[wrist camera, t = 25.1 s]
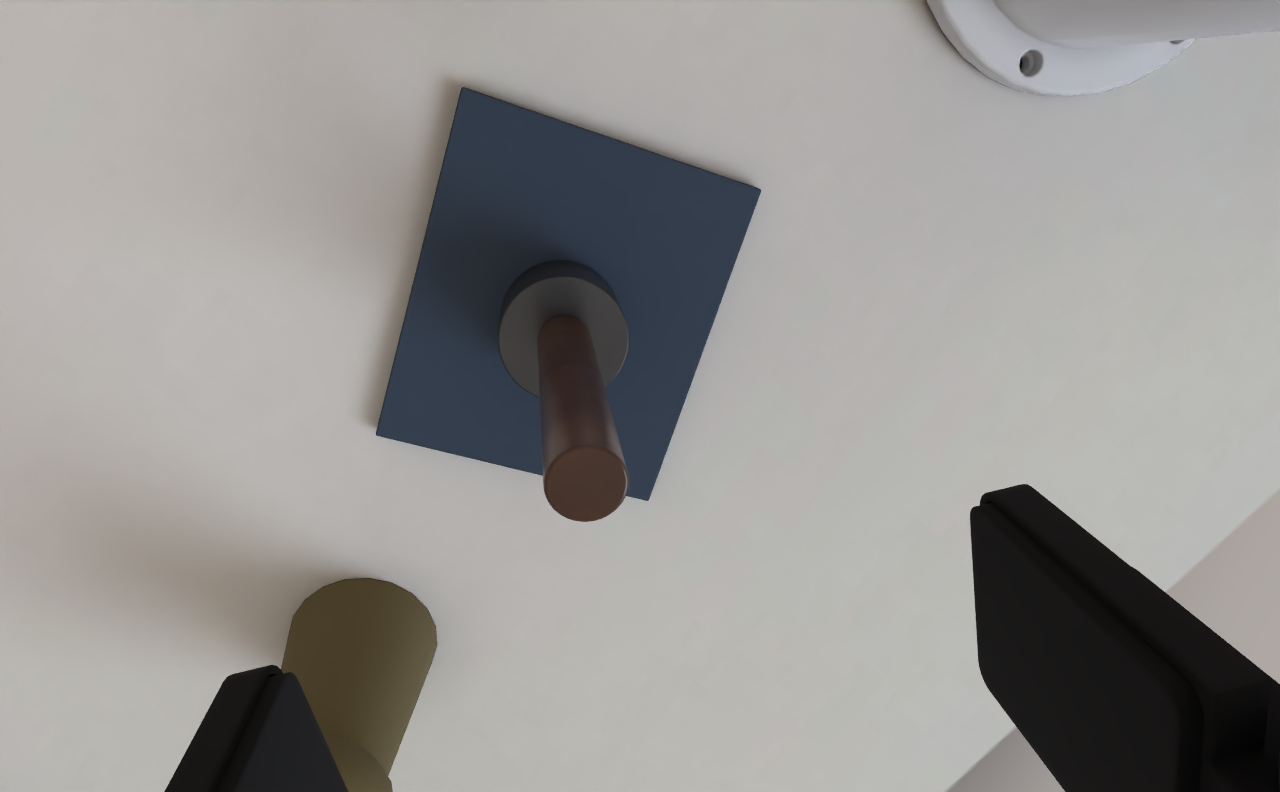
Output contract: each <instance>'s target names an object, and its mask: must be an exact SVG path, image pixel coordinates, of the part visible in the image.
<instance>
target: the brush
mask: <svg viewBox="0 0 1280 792" xmlns="http://www.w3.org/2000/svg"><path fill="white" fill-rule="evenodd" d="M628 346H629V331H628V325H627V321H626V318H625V316H624V313H623V311H622V309H621V307H620V305H619V302H618V300H617V298H616V296H615V294H614V291H613V290H612V288H611V287H610V285H609V284H608V282H607V281H606V280H605V279H604V278H603V277H602V276H601V275H600V274H599V273H597V272H596V271H595V270H593V269H592V268H590V267H588V266H586V265H583V264H581V263H578V262H574V261H569V260H552V261H546V262H543V263H539V264H537V265H535V266H533V267H531V268H529V269H527V270H526V271H524V272H523V273H522V274H521V275H519V276H518V277H517V278H516V279H515V281H514V282H513V283H512V284H511V286H510V287H509V289H508V291H507V293H506V295H505V297H504V300H503V303H502V307H501V314H500V322H499V330H498V348H499V353H500V357H501V360H502V362H503V365H504V367H505V369H506V371H507V372H508V373H509V375H510V376H511V378H512V379H513V380H514V381H515V382H516V383H517V384H518V385H519V386H520V387H522V388H523V389H524V390H526V391H527V392H529V393H530V394H532V395H534V396H537V397H539V398H540V415H541V437H542V460H543V483H544V492H545V495H546V498H547V500H548V502H549V504H550V505H551V506H552V508H553V509H554V510H555V511H557V512H558V513H559V514H561V515H562V516H564V517H566V518H568V519H571V520H575V521H582V522H588V521H595V520H598V519H601V518H604V517H606V516H608V515H609V514H611V513H612V512H614V511H615V510H616V509H617V508H618V507H619V506H620V504H621V503H622V502H623V500H624V498H625V496H626V494H627V491H628V486H629V476H628V471H627V467H626V464H625V460H624V456H623V453H622V449H621V445H620V442H619V438H618V434H617V431H616V427H615V423H614V420H613V416H612V412H611V409H610V405H609V401H608V398H607V394H606V390H605V387H606V386H607V385H608V384H609V383H610V382H611V381H612V380H613V379H614V378H615V377H616V376H617V374H618V373H619V371H620V370H621V368H622V366H623V364H624V361H625V359H626V356H627V352H628Z"/></svg>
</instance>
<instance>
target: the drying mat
mask: <svg viewBox="0 0 1280 792" xmlns="http://www.w3.org/2000/svg"><path fill="white" fill-rule="evenodd" d="M760 193H761V190H760V189H759V188H756V187H753V186H750V185H747V184H744V183H741V182H738V181H735V180H733V179H730V178H727V177H724V176H721V175H718V174H715V173H712V172H709V171H706V170H703V169H700V168H698V167H695V166H692V165H689V164H686V163H683V162H680V161H677V160H674V159H671V158H668V157H666V156H663V155H660V154H657V153H654V152H651V151H648V150H645V149H642V148H639V147H636V146H634V145H631V144H628V143H625V142H622V141H619V140H616V139H613V138H610V137H607V136H604V135H601V134H599V133H596V132H593V131H590V130H587V129H584V128H581V127H578V126H575V125H572V124H569V123H567V122H564V121H561V120H558V119H555V118H552V117H549V116H546V115H543V114H540V113H537V112H535V111H532V110H529V109H526V108H523V107H520V106H517V105H514V104H511V103H508V102H505V101H502V100H500V99H497V98H494V97H491V96H488V95H485V94H482V93H479V92H476V91H473V90H470V89H468V88H465V87H462V88H461V91H460V95H459V99H458V103H457V107H456V111H455V116H454V120H453V124H452V128H451V132H450V136H449V140H448V144H447V148H446V152H445V156H444V160H443V164H442V168H441V172H440V176H439V180H438V184H437V188H436V192H435V196H434V201H433V205H432V209H431V213H430V217H429V221H428V225H427V229H426V233H425V237H424V241H423V245H422V249H421V253H420V257H419V261H418V265H417V269H416V273H415V277H414V281H413V285H412V290H411V294H410V298H409V302H408V306H407V310H406V314H405V318H404V322H403V326H402V330H401V334H400V338H399V342H398V346H397V350H396V354H395V358H394V362H393V366H392V370H391V375H390V379H389V383H388V387H387V391H386V395H385V399H384V403H383V407H382V411H381V415H380V419H379V423H378V427H377V431H376V435H377V436H381V437H385V438H389V439H393V440H397V441H401V442H406V443H410V444H414V445H418V446H422V447H426V448H430V449H435V450H439V451H443V452H447V453H451V454H455V455H460V456H464V457H468V458H472V459H476V460H480V461H484V462H489V463H493V464H497V465H501V466H505V467H509V468H514V469H518V470H522V471H526V472H530V473H534V474H538V475H543V460H542V437H541V415H540V398H539V397H537V396H534V395H532V394H530V393H529V392H527V391H526V390H524V389H523V388H522V387H520V386H519V385H518V384H517V383H516V382H515V381H514V380H513V379H512V378H511V376H510V375H509V373H508V372H507V371H506V369H505V367H504V365H503V362H502V360H501V357H500V353H499V348H498V330H499V322H500V314H501V307H502V303H503V300H504V297H505V295H506V293H507V291H508V289H509V287H510V286H511V284H512V283H513V282H514V281H515V279H516V278H517V277H518V276H519V275H521V274H522V273H523V272H524V271H526V270H527V269H529V268H531V267H533V266H535V265H537V264H539V263H543V262H546V261H552V260H569V261H574V262H578V263H581V264H583V265H586V266H588V267H590V268H592V269H593V270H595V271H596V272H597V273H599V274H600V275H601V276H602V277H603V278H604V279H605V280H606V281H607V282H608V284H609V285H610V287H611V288H612V290H613V291H614V294H615V296H616V298H617V300H618V302H619V305H620V307H621V309H622V311H623V313H624V316H625V318H626V321H627V325H628V331H629V346H628V352H627V356H626V359H625V361H624V364H623V366H622V368H621V370H620V371H619V373H618V374H617V376H616V377H615V378H614V379H613V380H612V381H611V382H610V383H609V384H608V385H607V386H606V387H605V390H606V394H607V398H608V401H609V405H610V409H611V412H612V416H613V420H614V423H615V427H616V431H617V434H618V438H619V442H620V445H621V449H622V453H623V456H624V460H625V464H626V467H627V471H628V476H629V486H628V491H627V494H626V496H630V497H634V498H638V499H642V500H646V501H648V500H649V498H650V495H651V492H652V490H653V487H654V484H655V481H656V479H657V476H658V473H659V470H660V468H661V465H662V462H663V459H664V457H665V454H666V451H667V448H668V446H669V443H670V440H671V437H672V435H673V432H674V429H675V426H676V424H677V421H678V418H679V415H680V413H681V410H682V407H683V404H684V402H685V399H686V396H687V393H688V391H689V388H690V385H691V382H692V380H693V377H694V374H695V371H696V369H697V366H698V363H699V360H700V358H701V355H702V352H703V349H704V347H705V344H706V341H707V338H708V336H709V333H710V330H711V327H712V325H713V322H714V319H715V316H716V314H717V311H718V308H719V305H720V303H721V300H722V297H723V294H724V292H725V289H726V286H727V283H728V281H729V278H730V275H731V272H732V270H733V267H734V264H735V261H736V259H737V256H738V253H739V250H740V248H741V245H742V242H743V239H744V237H745V234H746V231H747V228H748V226H749V223H750V220H751V217H752V215H753V212H754V209H755V206H756V204H757V201H758V198H759V195H760Z"/></svg>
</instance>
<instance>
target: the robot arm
mask: <svg viewBox="0 0 1280 792" xmlns="http://www.w3.org/2000/svg"><path fill="white" fill-rule="evenodd" d="M927 3H928V4H929V6H930V8H931V10H932V12H933V14H934V16H935V18H936V20H937V22H938V24H939V26H940V28H941V30H942V32H943V33H944V34H945V36H946V37H947V38H948V39H949V41H950V42H951V43H952V44H953V46H954V47H955V48H956V49H957V51H958V52H959V53H960V54H961V55H962V57H963V58H964V59H966V60H967V61H968V62H970V63H971V64H972V65H973V66H975V67H976V68H977V69H978V70H980V71H981V72H982V73H983V74H985V75H986V76H987V77H989V78H991V79H993V80H996V81H998V82H1000V83H1002V84H1004V85H1006V86H1008V87H1010V88H1012V89H1015V90H1020V91H1024V92H1029V93H1034V94H1038V95H1043V96H1044V95H1054V96H1076V95H1084V94H1092V93H1101V92H1105V91H1108V90H1111V89H1114V88H1117V87H1120V86H1123V85H1126V84H1129V83H1132V82H1135V81H1137V80H1138V79H1140V78H1142V77H1144V76H1146V75H1147V74H1149V73H1151V72H1153V71H1155V70H1156V69H1158V68H1160V67H1162V66H1164V65H1165V64H1166V63H1168V62H1169V61H1170V60H1172V59H1173V58H1174V57H1176V56H1177V55H1178V54H1180V53H1181V52H1182V51H1184V50H1185V49H1186V48H1187V47H1188V46H1189V45H1191V44H1192V43H1193V42H1194V41H1195V40H1196V39H1197V38H1207V37H1218V36H1228V35H1239V34H1250V33H1260V32H1271V31H1280V0H927ZM1020 59H1022V67H1021V69H1020V67H1019V64H1020ZM970 525H971V542H972V559H973V576H974V594H975V611H976V628H977V645H978V661H979V667H980V671H981V674H982V677H983V679H984V682H985V684H986V686H987V687H988V689H989V690H990V692H991V693H992V695H993V696H994V697H995V699H996V700H997V701H998V703H999V704H1000V705H1001V707H1002V708H1003V709H1004V711H1005V712H1006V713H1007V715H1008V716H1009V717H1010V719H1011V720H1012V721H1013V723H1014V724H1015V725H1016V727H1017V728H1018V729H1019V731H1020V732H1021V733H1022V735H1023V736H1024V737H1025V738H1026V740H1027V741H1028V742H1029V744H1030V745H1031V746H1032V748H1033V749H1034V750H1035V752H1036V753H1037V754H1038V755H1039V757H1040V758H1041V760H1042V761H1043V762H1044V764H1045V765H1046V766H1047V768H1048V769H1049V770H1050V772H1051V773H1052V774H1053V776H1054V777H1055V778H1056V780H1057V781H1058V782H1059V784H1060V785H1061V786H1062V788H1063V789H1064V790H1065V792H1280V684H1278V683H1277V682H1276V681H1275V680H1273V679H1272V678H1271V677H1270V676H1269V675H1267V674H1266V673H1265V672H1263V671H1262V670H1261V669H1260V668H1258V667H1257V666H1256V665H1255V664H1253V663H1252V662H1251V661H1250V660H1249V659H1247V658H1246V657H1245V656H1243V655H1242V654H1241V653H1240V652H1239V651H1237V650H1236V649H1235V648H1234V647H1232V646H1231V645H1230V644H1229V643H1227V642H1226V641H1225V640H1224V639H1222V638H1221V637H1220V636H1219V635H1217V634H1216V633H1215V632H1213V631H1212V630H1211V629H1210V628H1209V627H1207V626H1206V625H1205V624H1204V623H1203V622H1201V621H1200V620H1199V619H1197V618H1196V617H1195V616H1194V615H1192V614H1191V613H1190V612H1189V611H1188V610H1186V609H1185V608H1184V607H1182V606H1181V605H1180V604H1179V603H1177V602H1176V601H1175V600H1174V599H1173V598H1171V597H1170V596H1169V595H1168V594H1166V593H1165V592H1164V591H1163V590H1161V589H1160V588H1159V587H1158V586H1156V585H1155V584H1154V583H1153V582H1151V581H1150V580H1149V579H1148V578H1146V577H1145V576H1144V575H1143V574H1141V573H1140V572H1139V571H1138V570H1136V569H1134V568H1133V567H1131V566H1129V565H1128V564H1127V563H1126V562H1124V561H1123V560H1122V559H1121V558H1119V557H1118V556H1117V555H1116V554H1115V553H1113V552H1112V551H1111V550H1110V549H1108V548H1107V547H1106V546H1105V545H1103V544H1102V543H1101V542H1100V541H1098V540H1097V539H1096V538H1095V537H1093V536H1092V535H1091V534H1090V533H1088V532H1087V531H1086V530H1085V529H1083V528H1082V527H1081V526H1080V525H1078V524H1077V523H1076V522H1075V521H1074V520H1072V519H1071V518H1070V517H1069V516H1067V515H1066V514H1065V513H1064V512H1062V511H1061V510H1060V509H1059V508H1057V507H1056V506H1055V505H1054V504H1052V503H1051V502H1050V501H1049V500H1047V499H1046V498H1045V497H1044V496H1042V495H1041V494H1040V493H1039V492H1037V491H1036V490H1035V489H1034V488H1033V487H1031V486H1029V485H1027V484H1021V485H1017V486H1013V487H1009V488H1005V489H1001V490H997V491H992V492H988V493H985V494H984V495H983V496H982V498H981V500H980V506H976V507H973V508H972V509H971V512H970ZM165 792H348V789H347V787H346V785H345V783H344V781H343V778H342V776H341V774H340V772H339V769H338V767H337V765H336V763H335V761H334V758H333V756H332V754H331V752H330V749H329V747H328V745H327V743H326V741H325V738H324V736H323V734H322V732H321V730H320V727H319V725H318V723H317V721H316V718H315V716H314V714H313V712H312V710H311V707H310V705H309V703H308V701H307V698H306V696H305V694H304V692H303V690H302V687H301V685H300V683H299V681H298V679H297V677H296V676H295V675H294V674H293V673H291V672H287V673H283V672H282V670H281V669H280V668H279V667H278V666H275V665H269V666H265V667H261V668H257V669H253V670H248V671H244V672H240V673H236V674H232V675H230V676H228V677H227V678H226V679H225V681H224V682H223V683H222V685H221V687H220V689H219V691H218V693H217V695H216V697H215V698H214V700H213V702H212V704H211V706H210V708H209V710H208V712H207V713H206V715H205V717H204V719H203V721H202V723H201V725H200V726H199V728H198V730H197V732H196V734H195V736H194V738H193V740H192V741H191V743H190V745H189V747H188V749H187V751H186V753H185V755H184V756H183V758H182V760H181V762H180V764H179V766H178V768H177V769H176V771H175V773H174V775H173V777H172V779H171V781H170V783H169V784H168V786H167V788H166V790H165Z"/></svg>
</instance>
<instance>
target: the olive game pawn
mask: <svg viewBox="0 0 1280 792" xmlns="http://www.w3.org/2000/svg"><path fill="white" fill-rule="evenodd" d="M436 647H437V636H436V626H435V624H434V622H433V620H432V618H431V616H430V613H429V611H428V609H427V608H426V607H425V606H424V605H423V604H422V603H421V602H420V601H419V600H418V599H417V598H416V597H415V596H414V595H413V594H412V593H410V592H408V591H406V590H404V589H402V588H400V587H398V586H396V585H394V584H392V583H388V582H384V581H379V580H374V579H369V578H367V579H348V580H342V581H340V582H337V583H334V584H331V585H328V586H325V587H322V588H321V589H319V590H318V591H317V592H315V593H314V594H312V595H311V596H310V597H308V598H307V599H305V600H304V602H303V603H302V605H301V606H300V608H299V609H298V610H297V612H296V613H295V615H294V616H293V619H292V623H291V627H290V631H289V635H288V640H287V644H286V649H285V653H284V658H283V662H282V667H281V670H282V672H283V673H287V672H291V673H293V674H294V675H295V676H296V677H297V679H298V681H299V683H300V685H301V687H302V690H303V692H304V694H305V696H306V698H307V701H308V703H309V705H310V707H311V710H312V712H313V714H314V716H315V718H316V721H317V723H318V725H319V727H320V730H321V732H322V734H323V736H324V738H325V741H326V743H327V745H328V747H329V749H330V752H331V754H332V756H333V758H334V761H335V763H336V765H337V767H338V769H339V772H340V774H341V776H342V778H343V781H344V783H345V785H346V787H347V789H348V792H393V791H392V784H391V781H390V779H389V777H388V775H389V772H390V770H391V767H392V765H393V762H394V759H395V757H396V754H397V752H398V749H399V746H400V744H401V741H402V739H403V736H404V733H405V731H406V728H407V726H408V723H409V720H410V718H411V715H412V713H413V710H414V707H415V705H416V702H417V700H418V697H419V694H420V692H421V689H422V687H423V684H424V681H425V679H426V676H427V674H428V671H429V668H430V666H431V663H432V660H433V657H434V654H435V651H436Z"/></svg>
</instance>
